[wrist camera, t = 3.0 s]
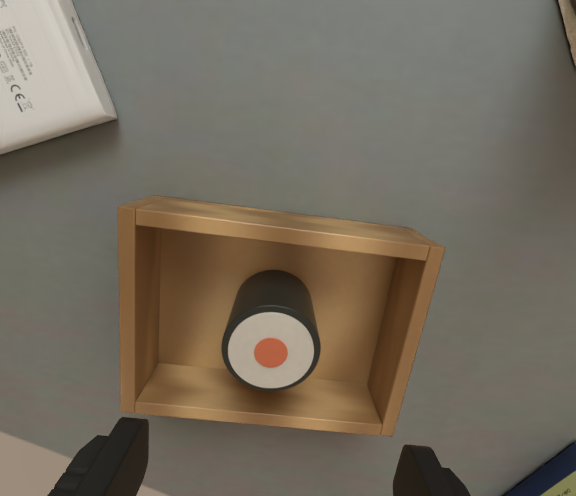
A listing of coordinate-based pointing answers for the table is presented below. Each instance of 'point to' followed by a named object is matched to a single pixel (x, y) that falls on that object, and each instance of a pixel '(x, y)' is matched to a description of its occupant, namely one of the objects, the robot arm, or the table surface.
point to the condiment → (570, 22)
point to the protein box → (552, 477)
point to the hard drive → (46, 74)
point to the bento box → (221, 295)
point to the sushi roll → (271, 332)
